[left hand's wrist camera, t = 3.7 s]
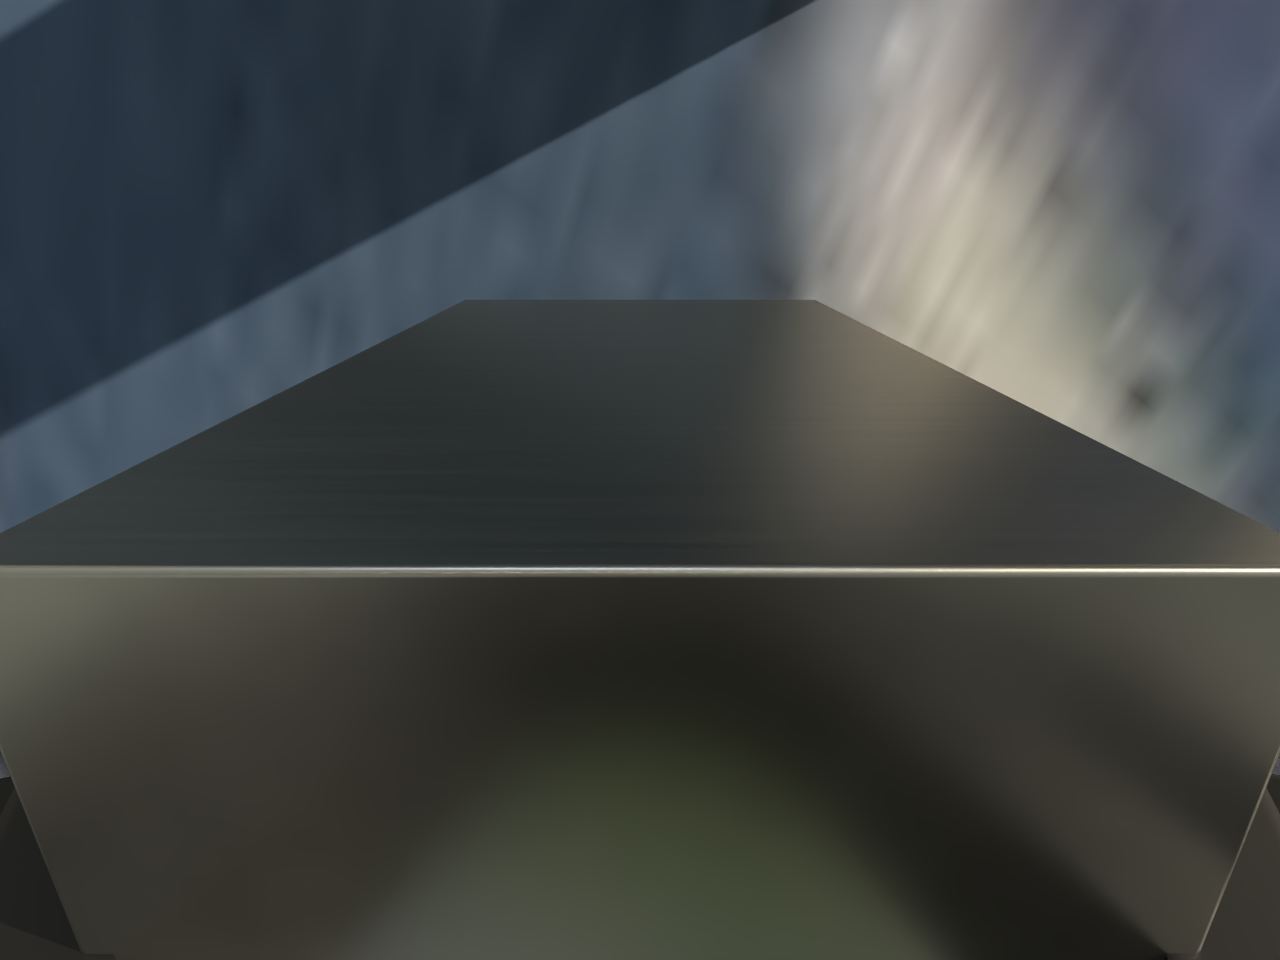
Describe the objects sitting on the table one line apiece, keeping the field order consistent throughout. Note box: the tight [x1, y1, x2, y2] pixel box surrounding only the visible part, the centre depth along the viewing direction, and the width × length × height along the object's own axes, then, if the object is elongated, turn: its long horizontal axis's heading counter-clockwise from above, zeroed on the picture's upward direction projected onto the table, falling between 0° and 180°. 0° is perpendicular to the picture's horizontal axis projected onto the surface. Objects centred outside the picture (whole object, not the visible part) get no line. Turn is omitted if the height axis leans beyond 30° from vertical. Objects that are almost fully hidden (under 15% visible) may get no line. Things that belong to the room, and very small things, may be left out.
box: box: [0, 300, 1280, 960], centre depth 14 cm, size 22×8×13 cm, turn 0°
